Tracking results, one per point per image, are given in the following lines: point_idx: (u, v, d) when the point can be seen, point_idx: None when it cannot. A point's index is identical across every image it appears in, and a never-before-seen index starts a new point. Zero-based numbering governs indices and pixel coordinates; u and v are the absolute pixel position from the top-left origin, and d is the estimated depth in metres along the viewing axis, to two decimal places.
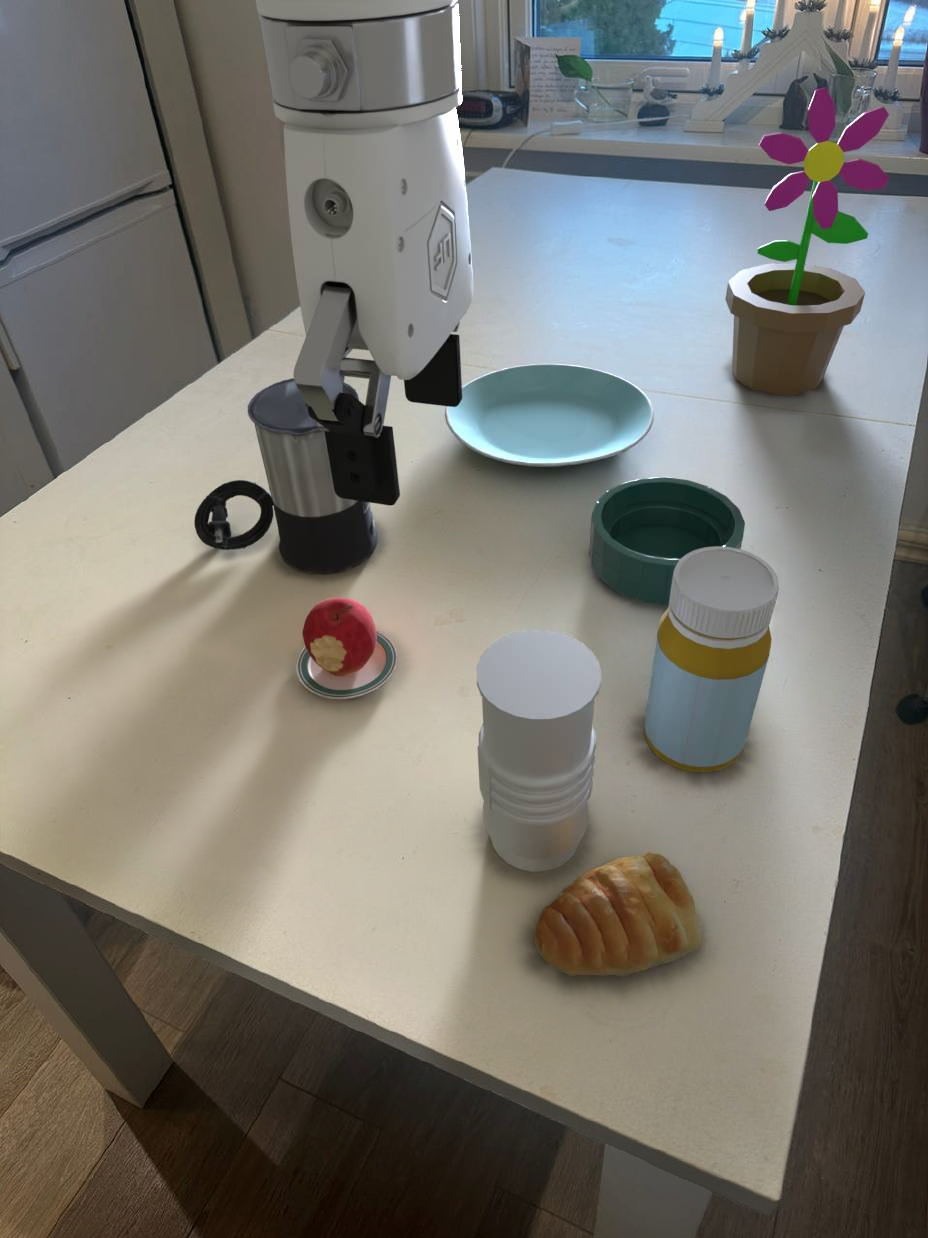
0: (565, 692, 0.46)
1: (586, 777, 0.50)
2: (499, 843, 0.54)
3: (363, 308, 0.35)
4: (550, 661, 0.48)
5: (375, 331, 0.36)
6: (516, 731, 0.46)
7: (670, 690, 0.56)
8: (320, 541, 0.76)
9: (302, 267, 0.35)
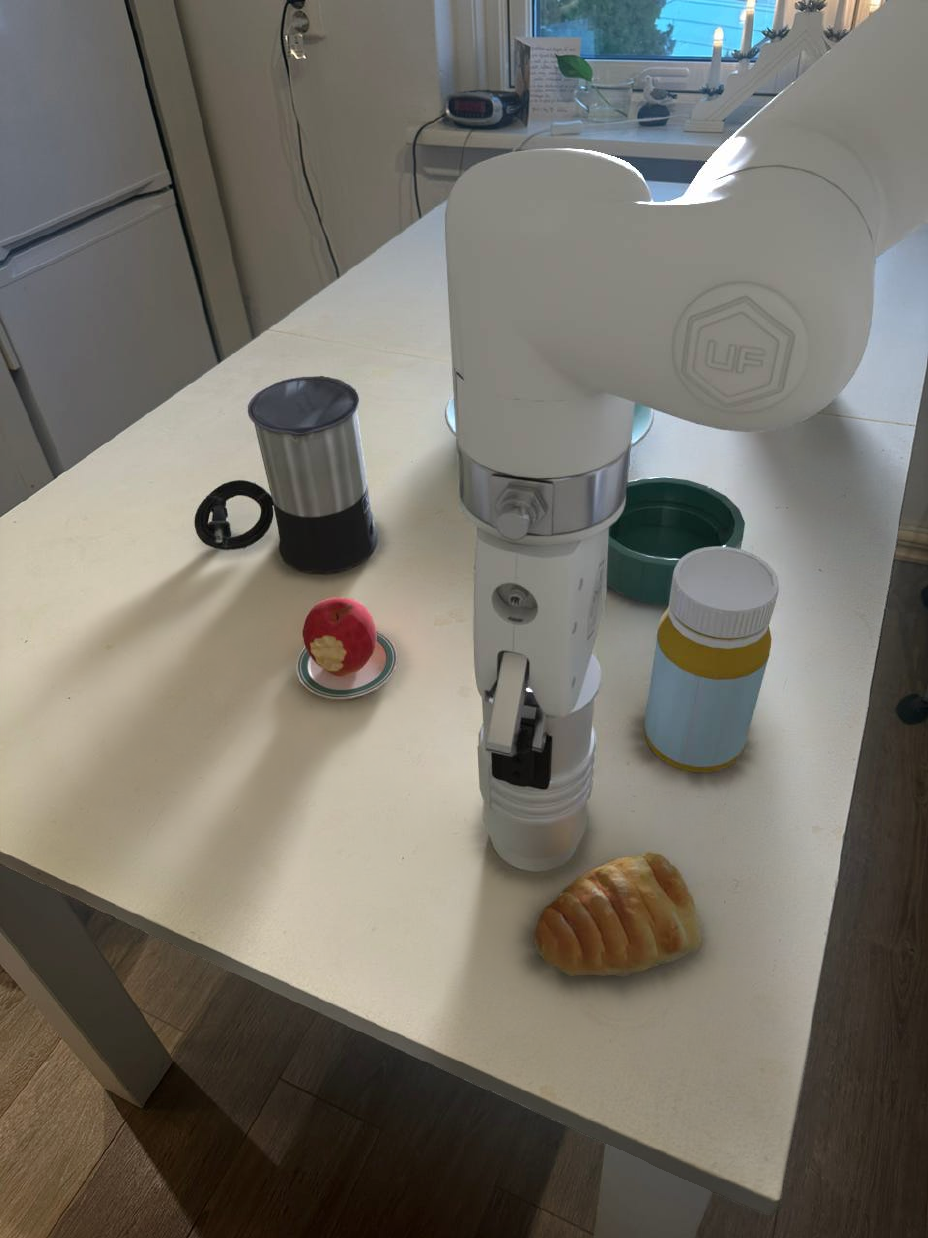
0: None
1: (586, 777, 0.50)
2: (499, 843, 0.54)
3: (536, 672, 0.40)
4: None
5: (544, 688, 0.40)
6: None
7: (670, 690, 0.56)
8: (320, 541, 0.76)
9: (482, 637, 0.40)
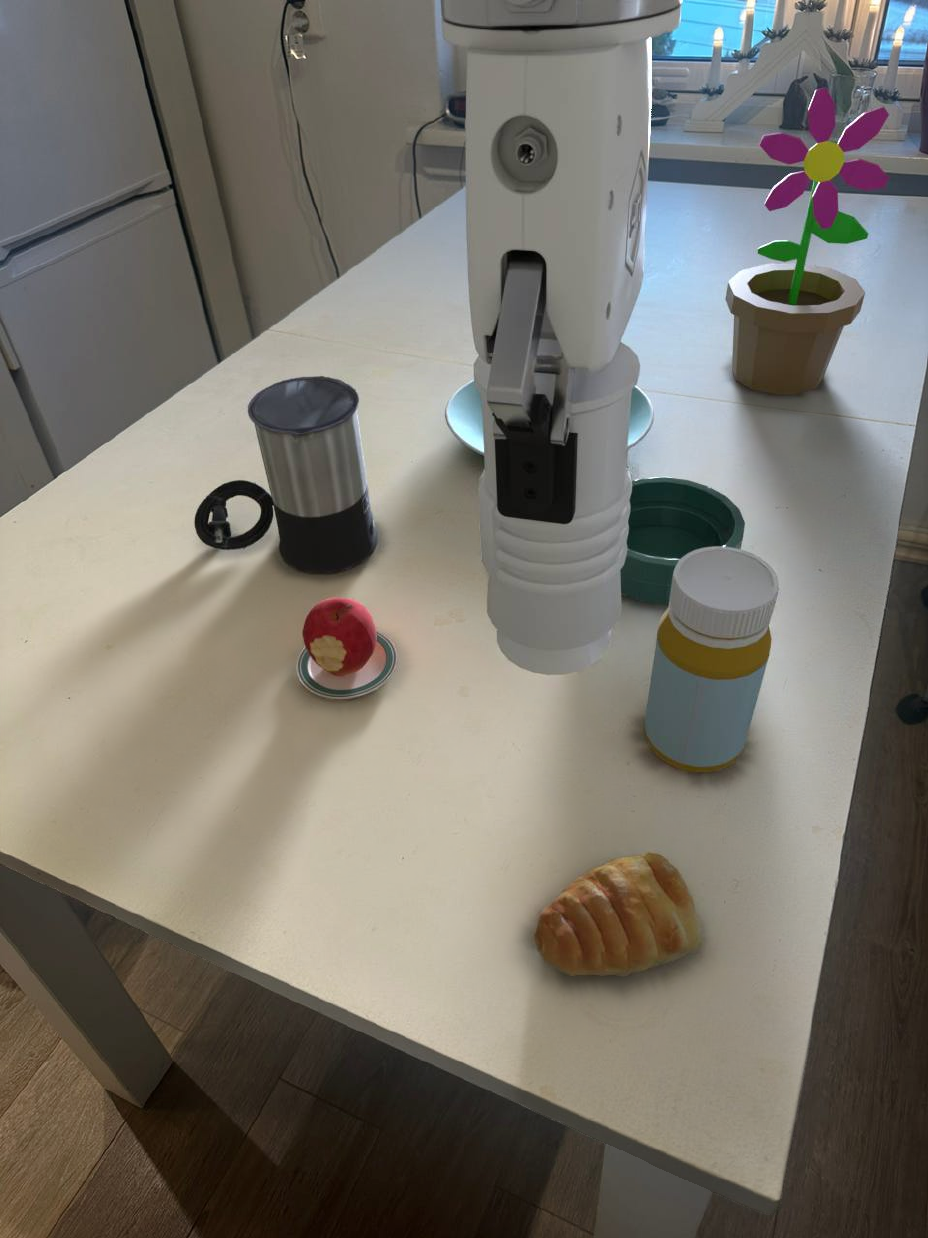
0: (592, 380, 0.34)
1: (620, 524, 0.38)
2: (508, 634, 0.42)
3: (556, 283, 0.28)
4: None
5: (568, 312, 0.29)
6: None
7: (670, 690, 0.56)
8: (320, 541, 0.76)
9: (479, 233, 0.28)
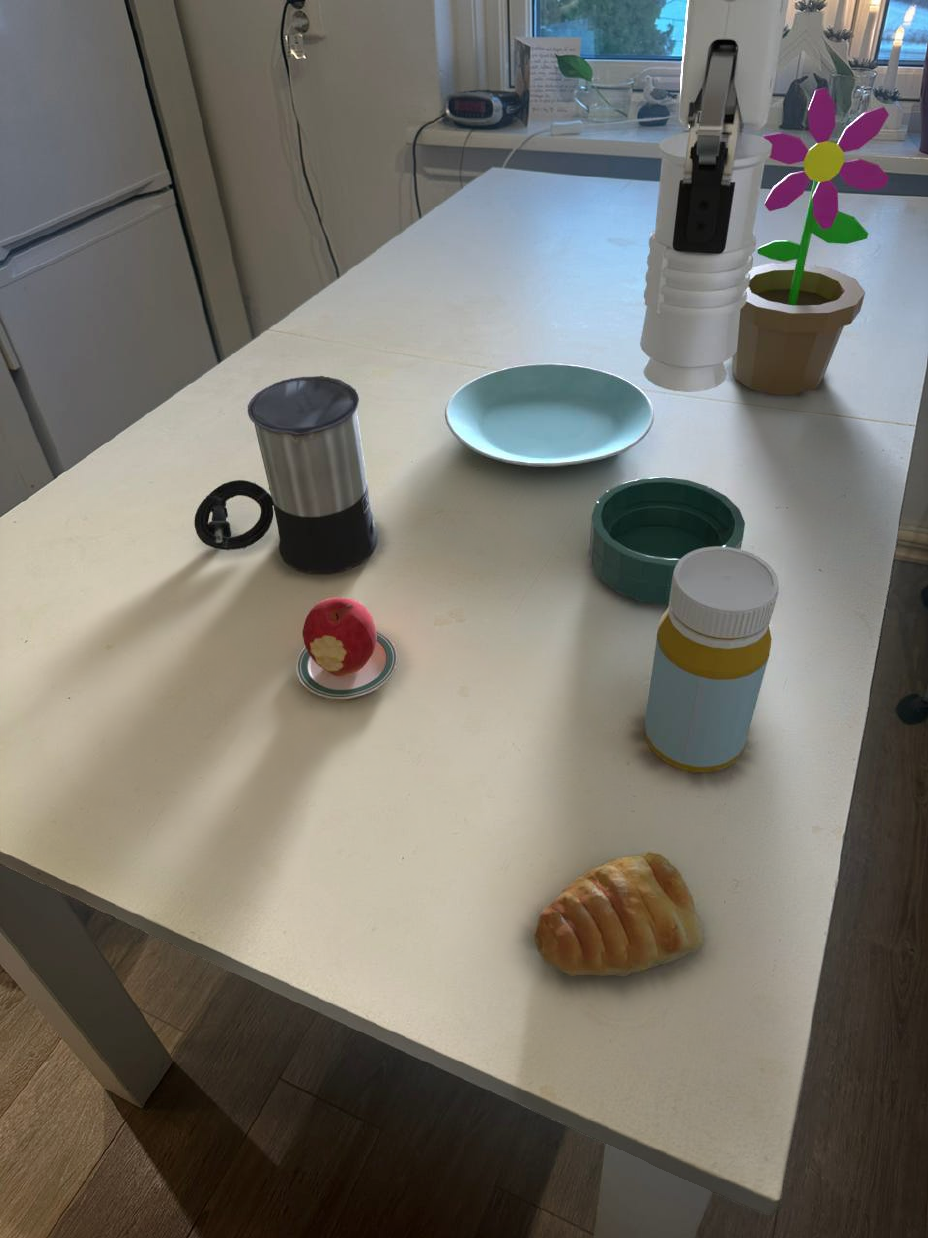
0: (742, 150, 0.52)
1: (748, 265, 0.56)
2: (660, 357, 0.60)
3: (742, 61, 0.46)
4: (724, 140, 0.54)
5: (747, 81, 0.47)
6: None
7: (670, 690, 0.56)
8: (320, 541, 0.76)
9: (696, 29, 0.46)
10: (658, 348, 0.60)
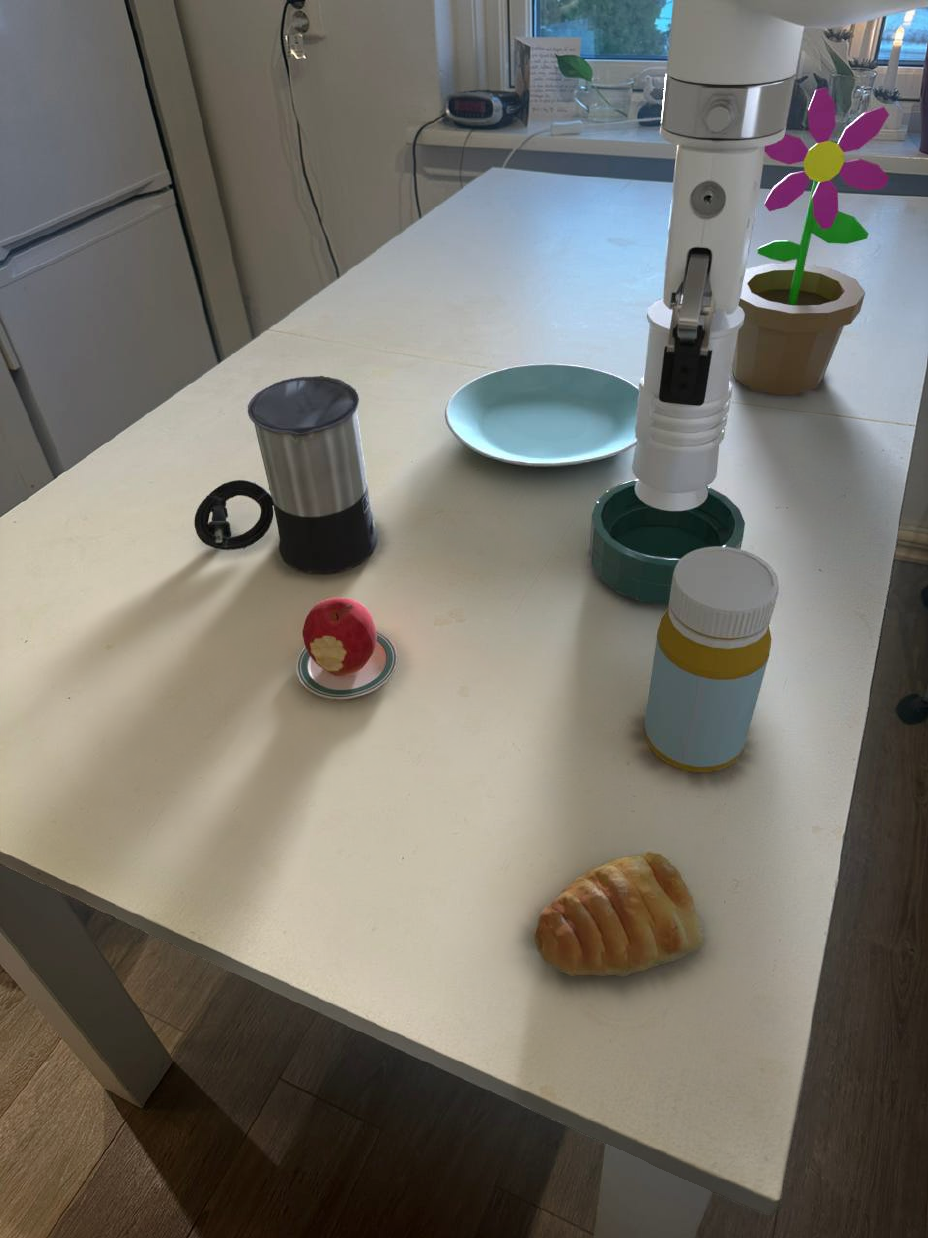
0: (719, 320, 0.61)
1: (725, 410, 0.65)
2: (649, 483, 0.69)
3: (716, 264, 0.54)
4: None
5: (720, 280, 0.55)
6: None
7: (670, 690, 0.56)
8: (320, 541, 0.76)
9: (677, 238, 0.54)
10: (647, 475, 0.68)
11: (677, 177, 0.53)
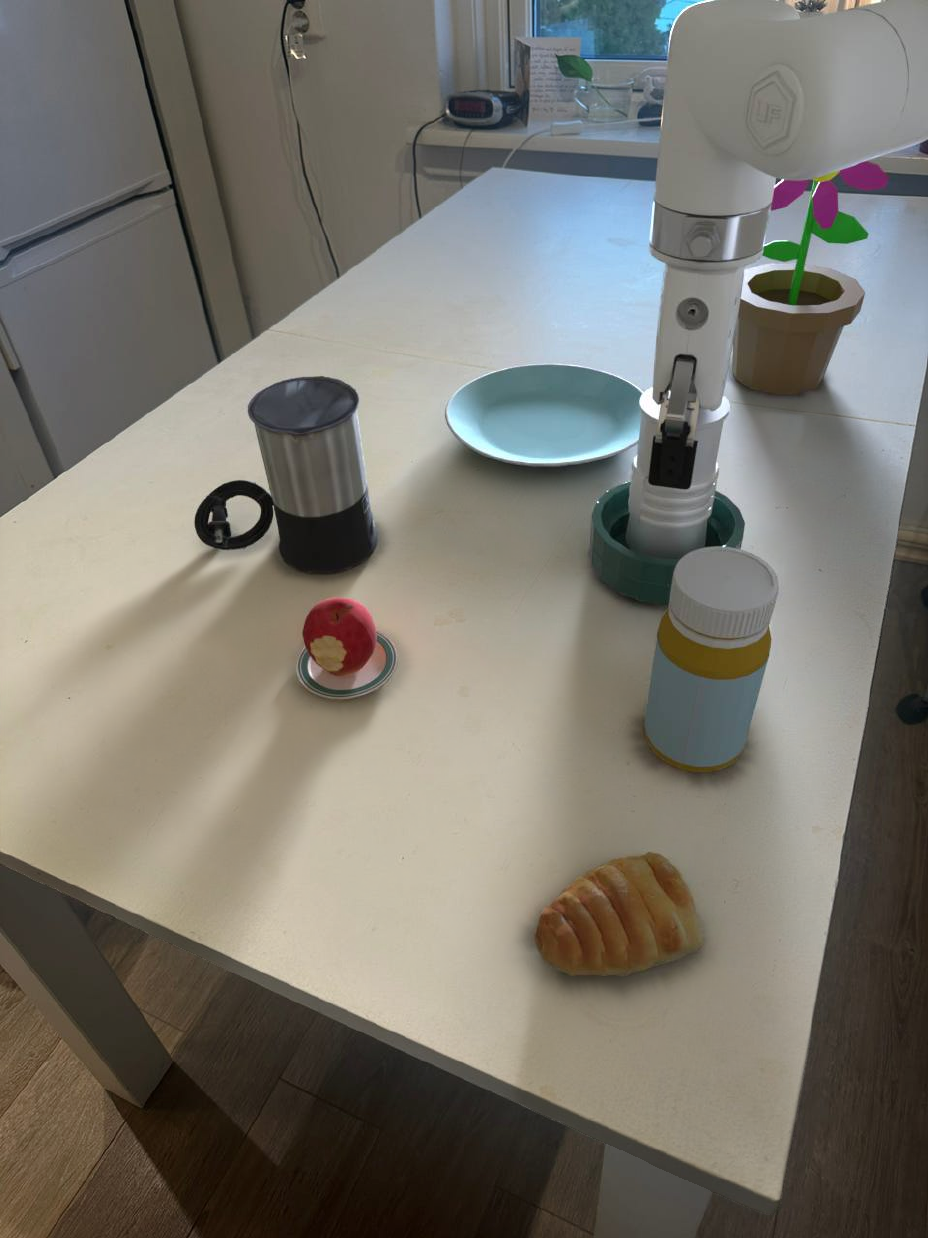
0: (705, 412, 0.65)
1: (712, 490, 0.69)
2: None
3: (700, 369, 0.59)
4: (691, 397, 0.67)
5: (704, 383, 0.60)
6: None
7: (670, 690, 0.56)
8: (320, 541, 0.76)
9: (664, 345, 0.59)
10: (640, 546, 0.73)
11: (664, 292, 0.58)
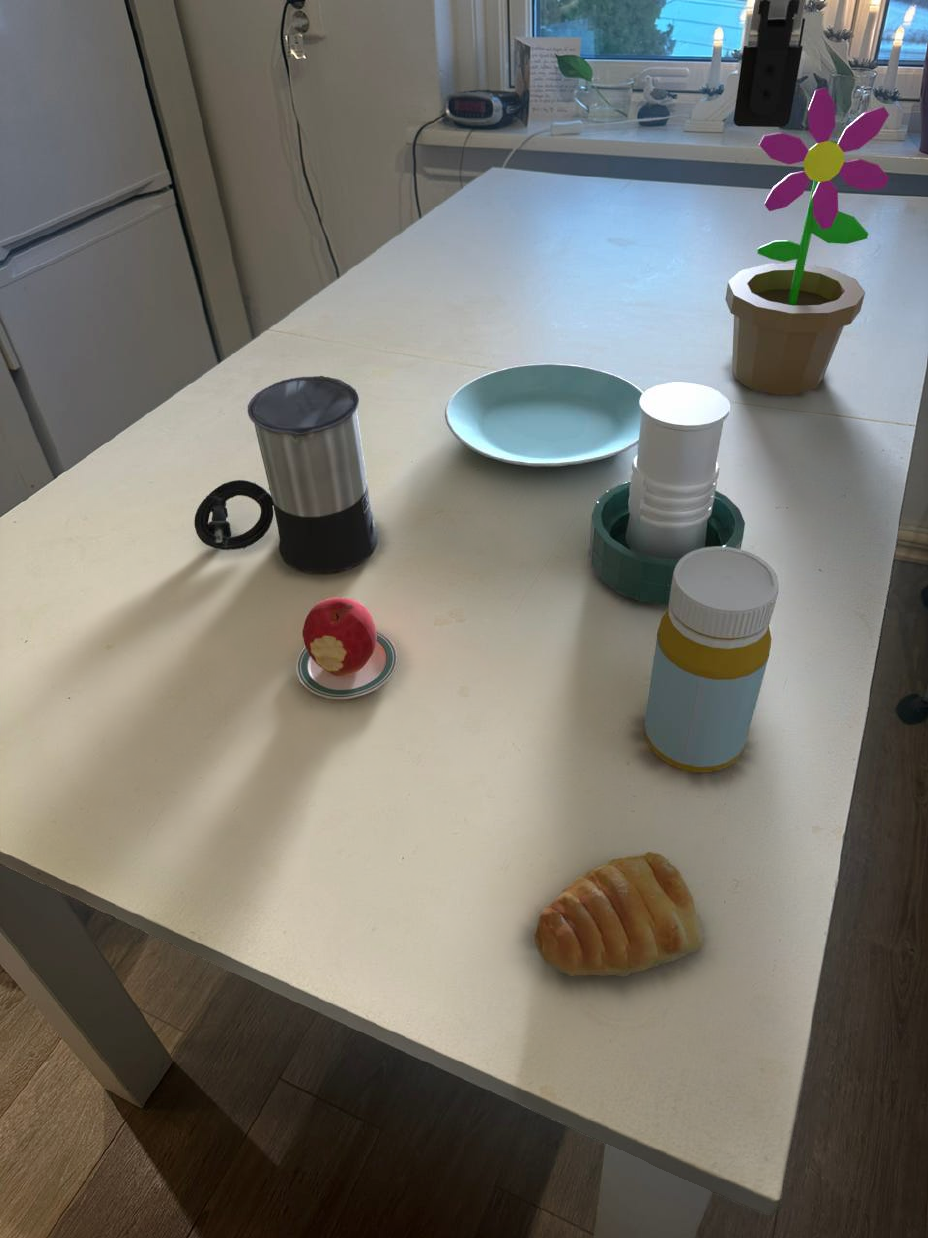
0: (705, 412, 0.65)
1: (712, 490, 0.69)
2: None
3: None
4: (691, 397, 0.67)
5: None
6: (670, 440, 0.65)
7: (670, 690, 0.56)
8: (320, 541, 0.76)
9: None
10: (640, 546, 0.73)
11: None
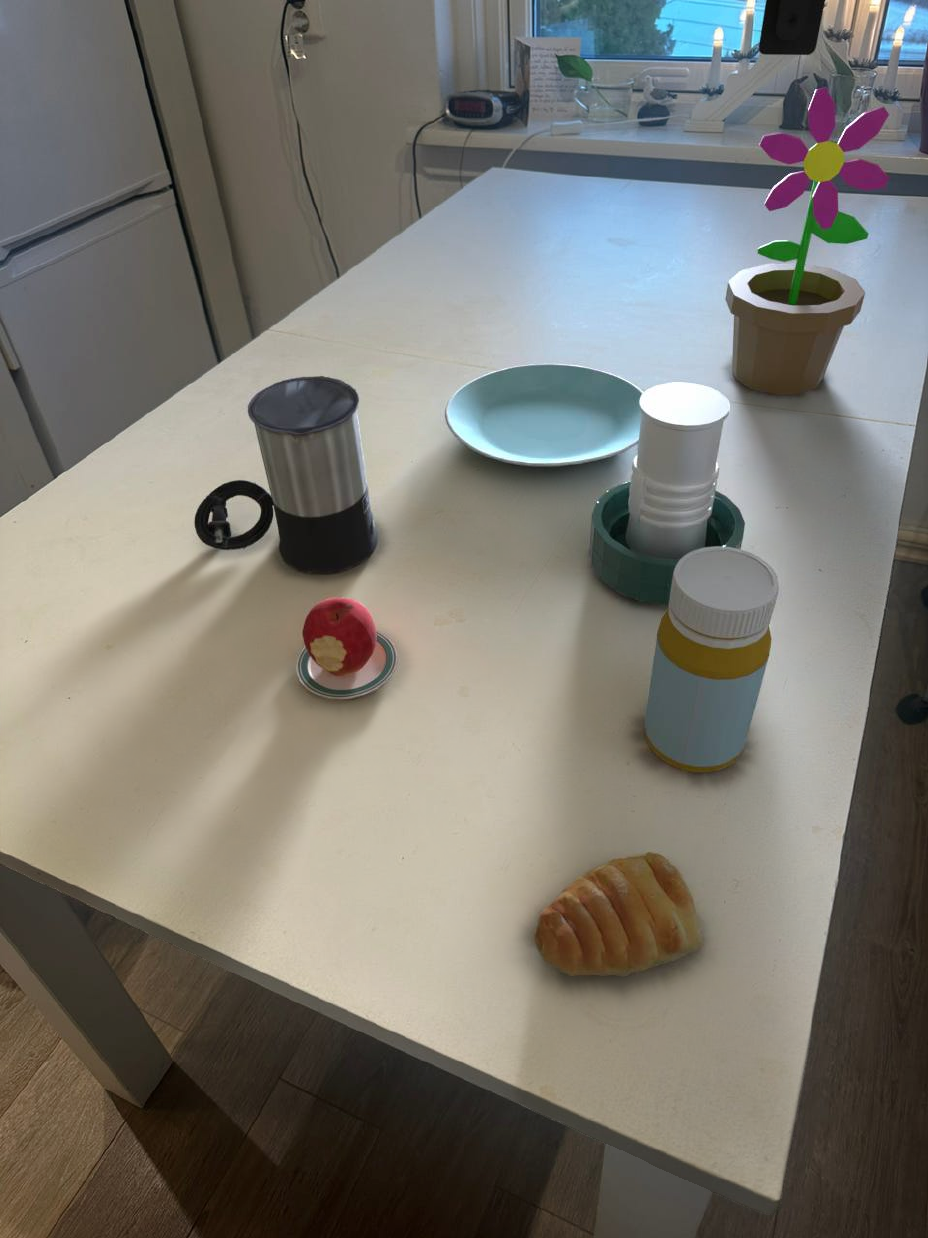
0: (705, 412, 0.65)
1: (712, 490, 0.69)
2: None
3: None
4: (691, 397, 0.67)
5: None
6: (670, 440, 0.65)
7: (670, 690, 0.56)
8: (320, 541, 0.76)
9: None
10: (640, 546, 0.73)
11: None
